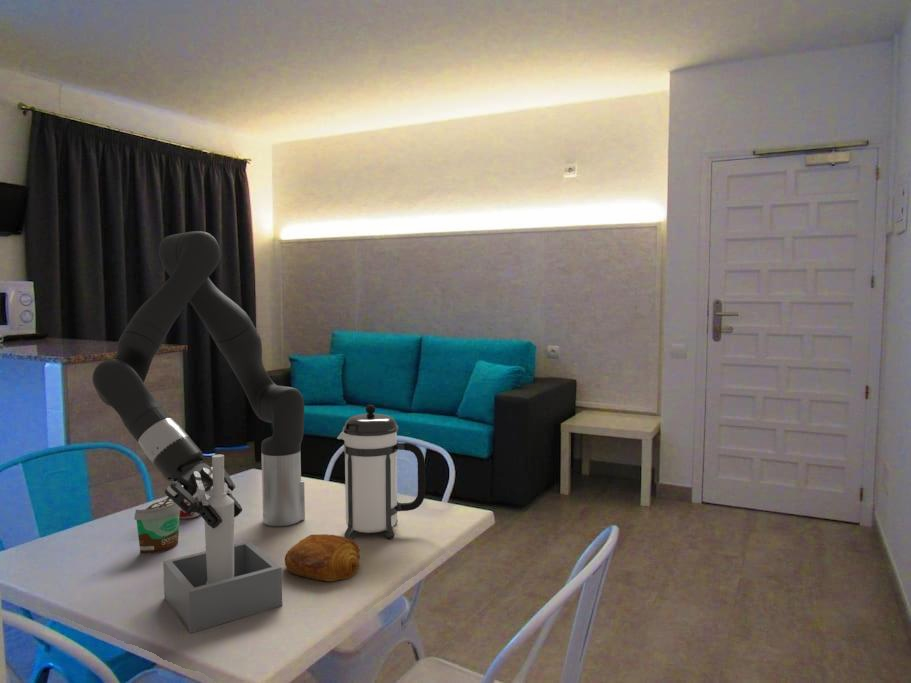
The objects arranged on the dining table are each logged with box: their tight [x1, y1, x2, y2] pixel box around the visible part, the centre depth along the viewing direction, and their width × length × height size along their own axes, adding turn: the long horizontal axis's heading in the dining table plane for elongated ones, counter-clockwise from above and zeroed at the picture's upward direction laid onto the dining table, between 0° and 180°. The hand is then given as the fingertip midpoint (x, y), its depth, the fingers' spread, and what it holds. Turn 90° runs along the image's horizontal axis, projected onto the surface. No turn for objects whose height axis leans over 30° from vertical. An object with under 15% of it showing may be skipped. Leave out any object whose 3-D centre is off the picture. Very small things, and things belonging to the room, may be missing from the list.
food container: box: [134, 496, 182, 555], centre depth 147 cm, size 12×6×10 cm, turn 168°
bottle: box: [204, 454, 235, 584], centre depth 120 cm, size 5×5×25 cm
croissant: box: [284, 534, 361, 582], centre depth 136 cm, size 14×16×8 cm
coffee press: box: [336, 404, 426, 540], centre depth 156 cm, size 17×16×30 cm
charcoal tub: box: [162, 540, 283, 634], centre depth 121 cm, size 16×16×7 cm
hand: (228, 519), depth 120 cm, fingers open, 5 cm apart
